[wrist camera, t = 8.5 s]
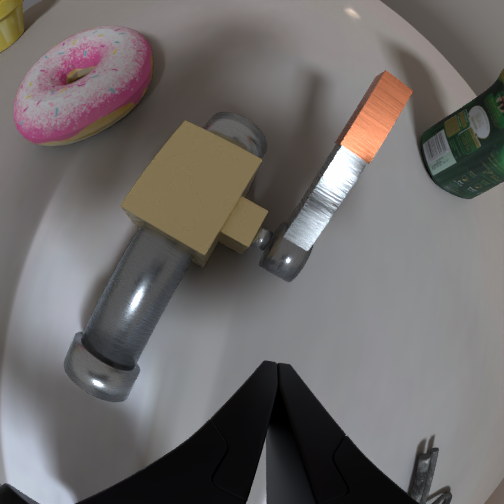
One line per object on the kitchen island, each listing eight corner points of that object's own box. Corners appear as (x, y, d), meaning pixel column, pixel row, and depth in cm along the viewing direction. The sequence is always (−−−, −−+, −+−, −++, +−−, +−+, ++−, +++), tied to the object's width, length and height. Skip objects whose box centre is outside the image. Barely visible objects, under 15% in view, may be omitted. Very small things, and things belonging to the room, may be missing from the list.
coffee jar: (459, 151, 26) (554, 90, 8) (472, 207, 24) (586, 155, 7) (411, 125, 24) (517, 34, 6) (424, 187, 23) (565, 104, 5)
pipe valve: (172, 409, 15) (165, 443, 11) (77, 350, 15) (41, 363, 10) (293, 185, 20) (320, 153, 15) (205, 137, 19) (208, 94, 14)
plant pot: (27, 18, 18) (15, -17, 9) (41, 26, 19) (27, -17, 9) (-19, 56, 16) (-37, 23, 6) (-12, 70, 16) (-35, 30, 6)
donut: (42, 187, 16) (11, 160, 11) (21, 100, 17) (4, 72, 12) (182, 101, 20) (181, 59, 15) (128, 38, 20) (123, 5, 15)
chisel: (285, 291, 16) (418, 91, 10) (255, 274, 16) (386, 67, 10) (287, 267, 18) (398, 96, 13) (262, 252, 18) (372, 77, 12)
